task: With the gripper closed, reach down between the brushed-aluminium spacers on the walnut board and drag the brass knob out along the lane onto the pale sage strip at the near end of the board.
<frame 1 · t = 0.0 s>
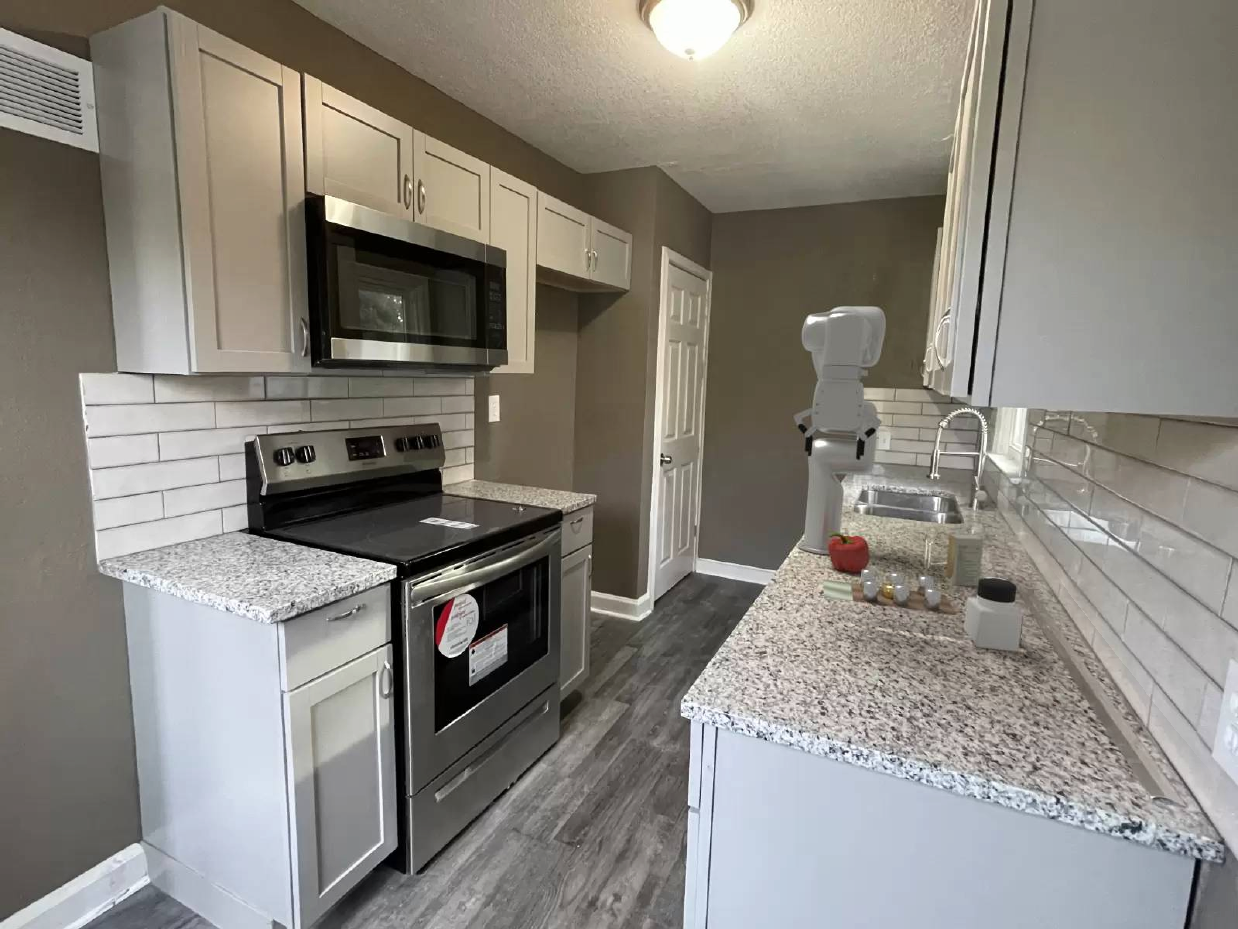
hand: (833, 457, 131), 31 cm above the countertop, fingers open, 9 cm apart
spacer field: (898, 588, 137), on the board, point 3 cm above the countertop
vegetable: (845, 572, 157), on the countertop
brass knob: (892, 596, 137), point 1 cm above the countertop, touching board
skincare box: (960, 586, 150), on the countertop
medicine bottle: (989, 643, 116), on the countertop
board: (882, 599, 138), on the countertop
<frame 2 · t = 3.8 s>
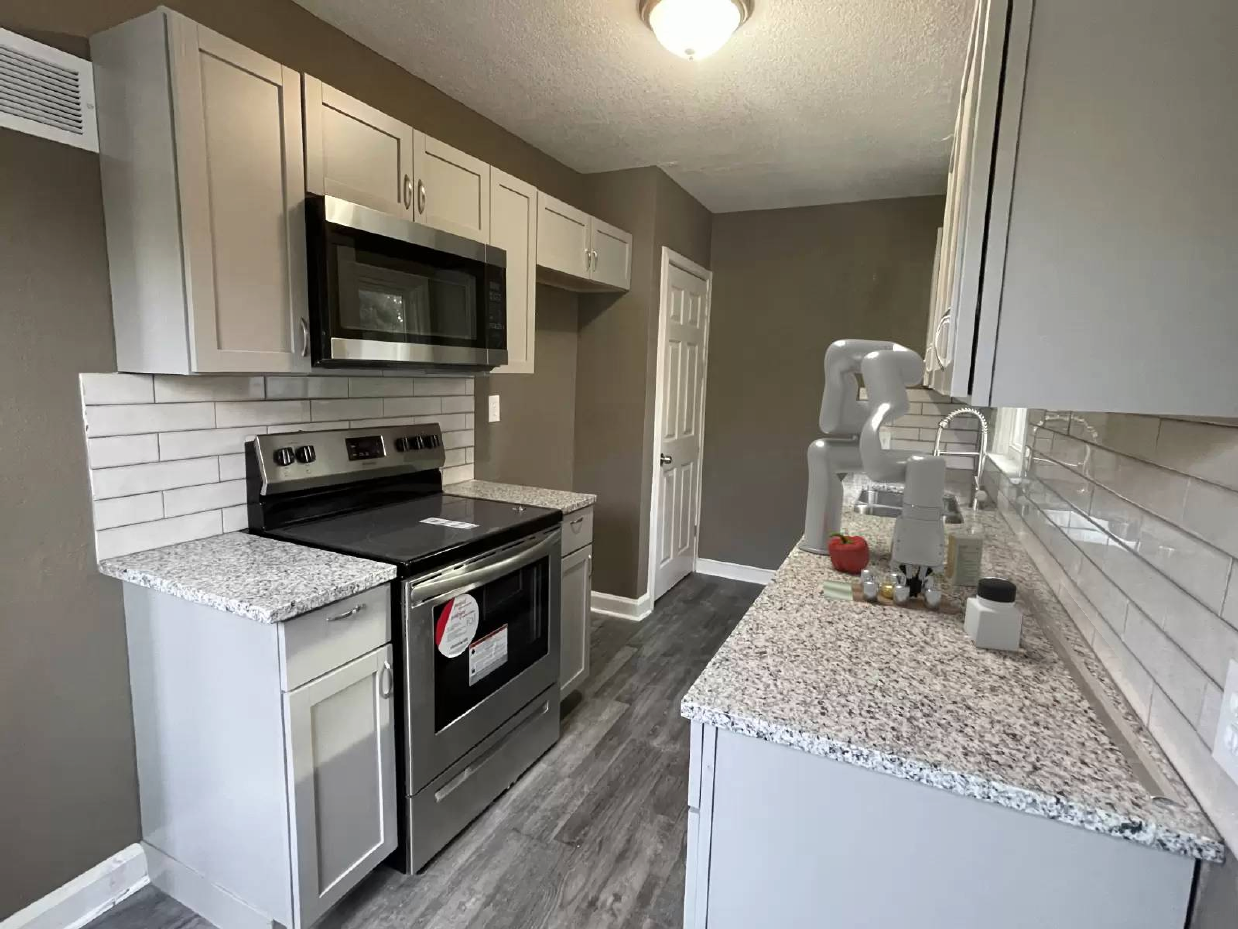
hand: (912, 595, 136), 2 cm above the countertop, fingers closed
brass knob: (892, 596, 137), point 1 cm above the countertop, touching board, gripper
everything else where it was.
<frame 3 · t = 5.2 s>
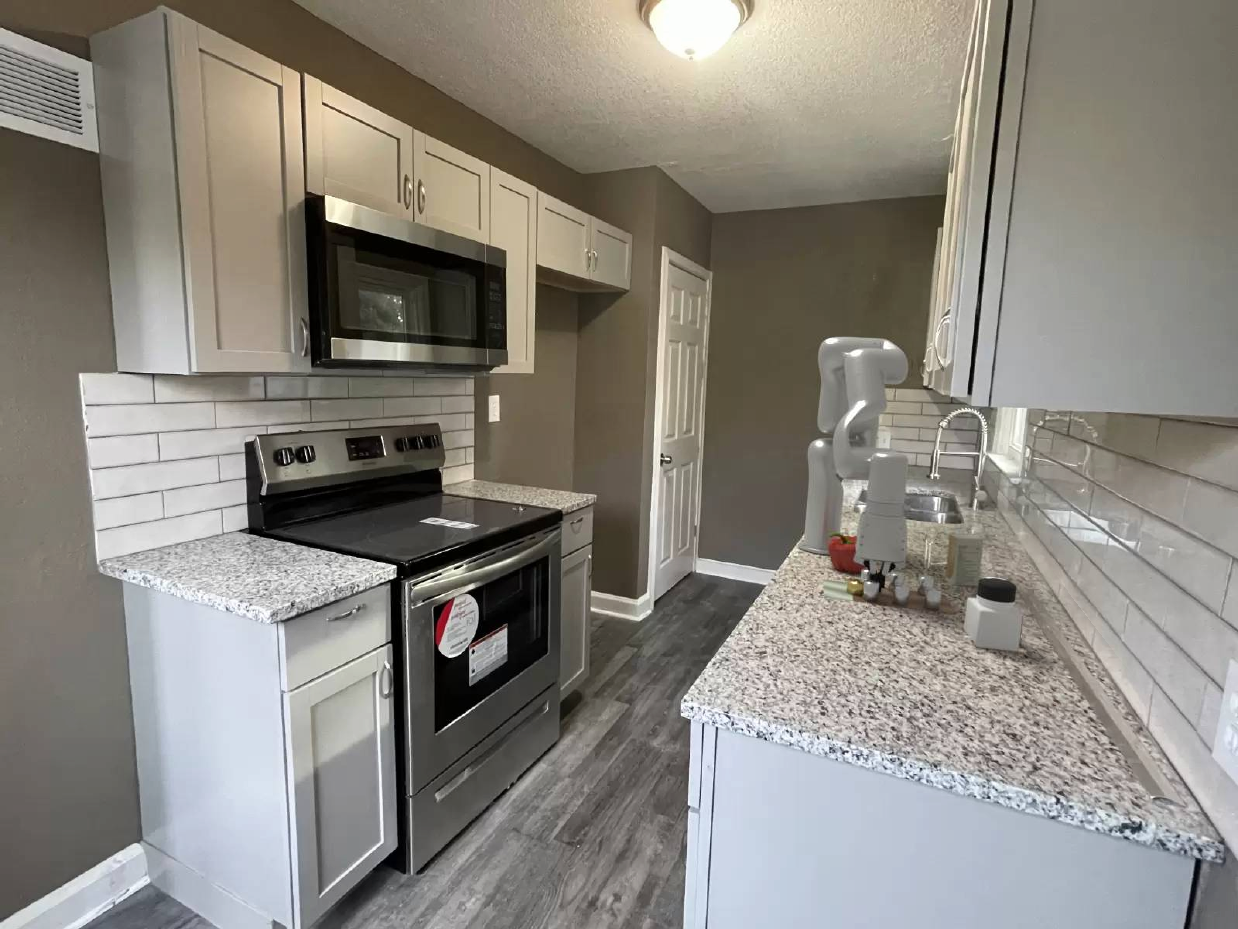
hand: (876, 590, 138), 2 cm above the countertop, fingers closed
brass knob: (856, 592, 139), point 1 cm above the countertop, touching board, gripper
everything else where it was.
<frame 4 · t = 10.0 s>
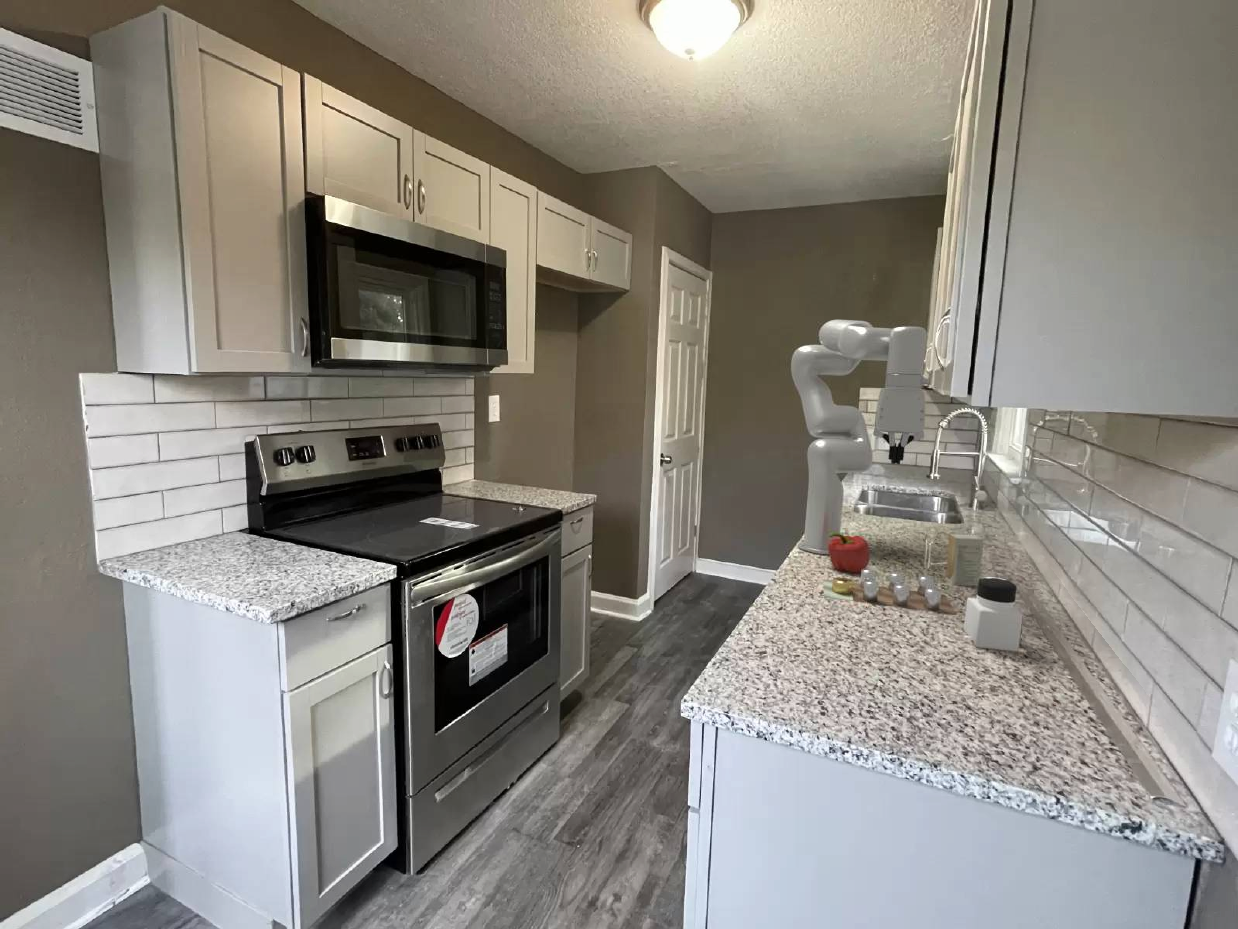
hand: (895, 463, 143), 29 cm above the countertop, fingers closed
brass knob: (842, 591, 139), point 1 cm above the countertop, touching board
everything else where it was.
at the end: brass knob inside the target area (1.5 cm from its centre), point 0.8 cm above the countertop; brass knob moved 10.6 cm from its start; the gripper is holding nothing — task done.
